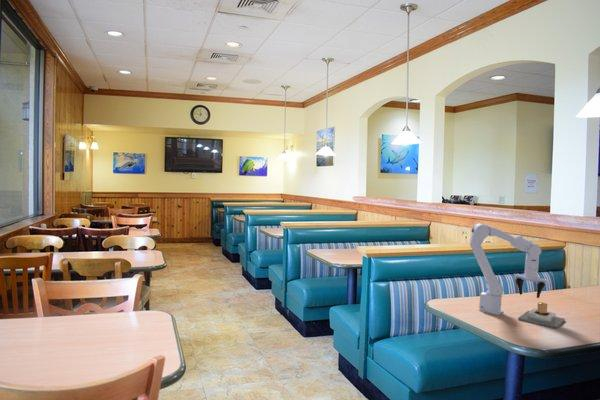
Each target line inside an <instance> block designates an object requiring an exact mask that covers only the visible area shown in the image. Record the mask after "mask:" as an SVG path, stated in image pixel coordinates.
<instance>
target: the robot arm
mask: <svg viewBox="0 0 600 400" xmlns="http://www.w3.org/2000/svg"><path fill="white" fill-rule="evenodd" d="M488 236H489V237H497V238H500V239H502V240H504V241H506V242H509V243H510V245H511V246H510V247H513V248H515V249H517V250H520V251H521V252H524V253H525V261H524V274H518V273H515V274H514V275H513V276H514V277H513V279H515V283H516V285H517V287H518V292H519V295H520V296H521V295H522V294H523V293H524V291H523V290H524V289H523V287H524V281H528V282H529V281H530V282H534V283H537V284H536V286H537V290H536V298H537V299H539V298H540V295H541V294H542V291H543V290H544V287H545V286H546V285H548V282H549V279H546V278H541V277H539V265H540V263H539V262H540V255H541V254H542V248H541V246H540V245H538V244H536V242H533V241H532V240H529V239H525V238H523V236H522V235H514V236H513V235H510V234H509V233H508V232H505V231H502V230H500V229H498V228H497V227H494V226H491V225H489V224H485V223H483V222H478V223H475V224H474V225H473V227H472V229H470V237H469V238H470V239H469V246H470V248H471V251H472V252H473V255H474V257H475V260H476V262H477V264H478V266H479V269H480V270H481V272H482V274H483V278H484V280H485V287H486V291H485V292H484V291H482V292H480V295H479V306H478V307H479V308H478V311H479V312H483V313H488V314H492V315H497V316H499V315H501V314H502V313H504V310H501V308H502V300H503V299H502V297H503V295H502V294H503V291H504V287H503V285H502V284H501V283H500V281H499V280H498V279H497V276H496V275H495V273H494V271H493V268H492V267H491V264H490V262H489V260H488V258H487V256H486V253H485V251H484V248H483V247H482V244H483V242H484V240H485V239H487V237H488Z"/></svg>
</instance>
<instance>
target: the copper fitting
mask: <svg viewBox="0 0 600 400" xmlns="http://www.w3.org/2000/svg"><path fill="white" fill-rule="evenodd" d="M536 309H537V314H541V315H546V316H547V311H548V303H546V302H537V308H536Z"/></svg>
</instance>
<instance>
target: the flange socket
mask: <svg viewBox="0 0 600 400" xmlns="http://www.w3.org/2000/svg"><path fill="white" fill-rule="evenodd" d="M517 320H518V321H521V322H525V323H530V324H535V325H539V326H542V327H547V328H551V329H555V330H557V329H558V328H559V327H560V326H562V324H564V322H565V321H566V318H564V317H560V316H559V317H558V316H557V313H556V312H552V311H548V310H547V316H546V315H541V314H537V308H532V309H531V310H527V311H526V312H524V313H523V314H521V315H520V316H518V318H517Z"/></svg>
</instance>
